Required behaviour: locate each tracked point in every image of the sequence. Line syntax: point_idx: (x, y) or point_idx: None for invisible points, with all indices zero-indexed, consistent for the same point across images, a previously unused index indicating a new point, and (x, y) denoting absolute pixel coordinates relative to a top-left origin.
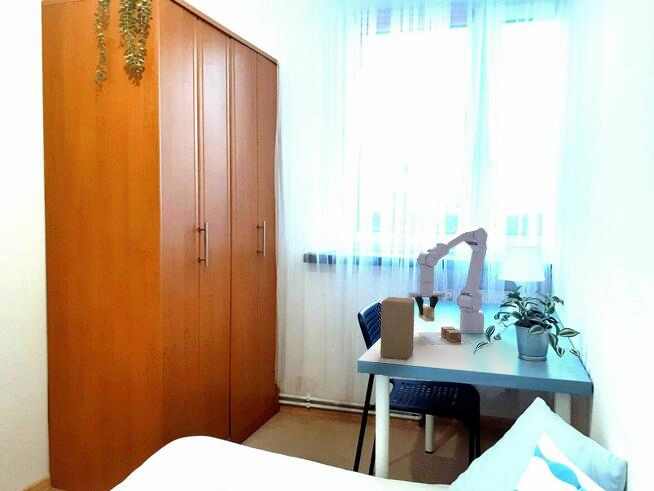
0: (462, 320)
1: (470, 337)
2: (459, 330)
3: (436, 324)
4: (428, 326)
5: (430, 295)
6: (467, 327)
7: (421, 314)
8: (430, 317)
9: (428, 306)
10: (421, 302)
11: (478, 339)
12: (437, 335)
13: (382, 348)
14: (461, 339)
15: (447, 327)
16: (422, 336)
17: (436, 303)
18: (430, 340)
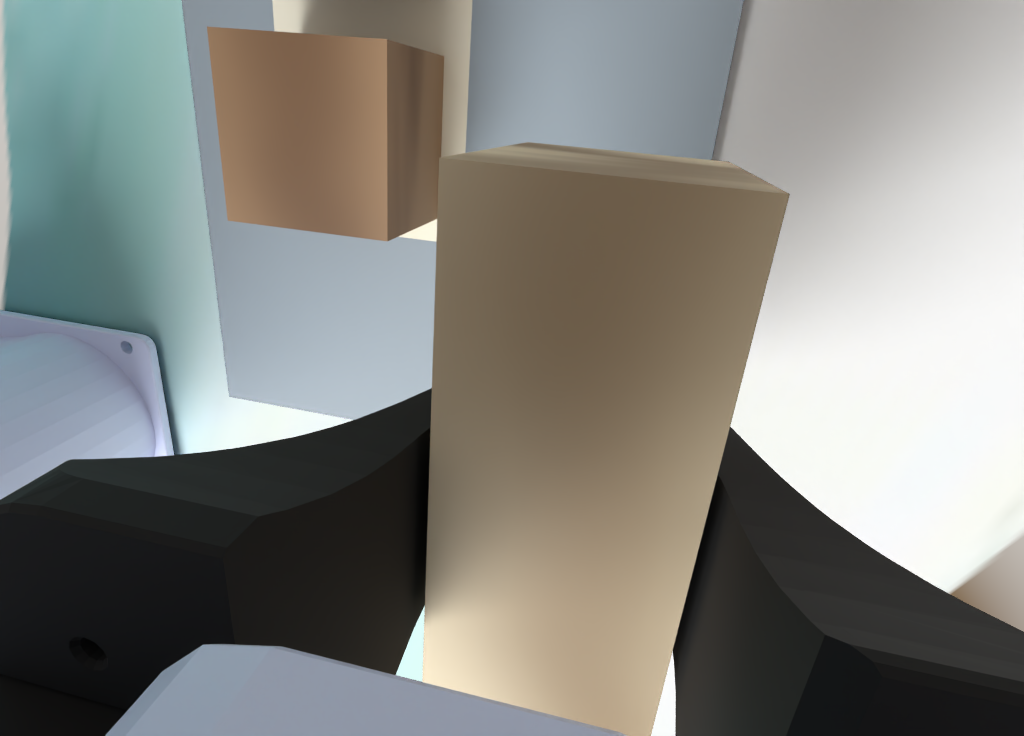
0: (39, 453)
1: (111, 151)
2: (164, 429)
3: None
4: (401, 672)
5: (325, 672)
6: (58, 368)
7: None
8: (608, 156)
9: (481, 571)
10: (884, 603)
11: (40, 30)
12: None
13: None
14: (233, 6)
15: (308, 174)
16: None
17: (222, 450)
18: (683, 3)
